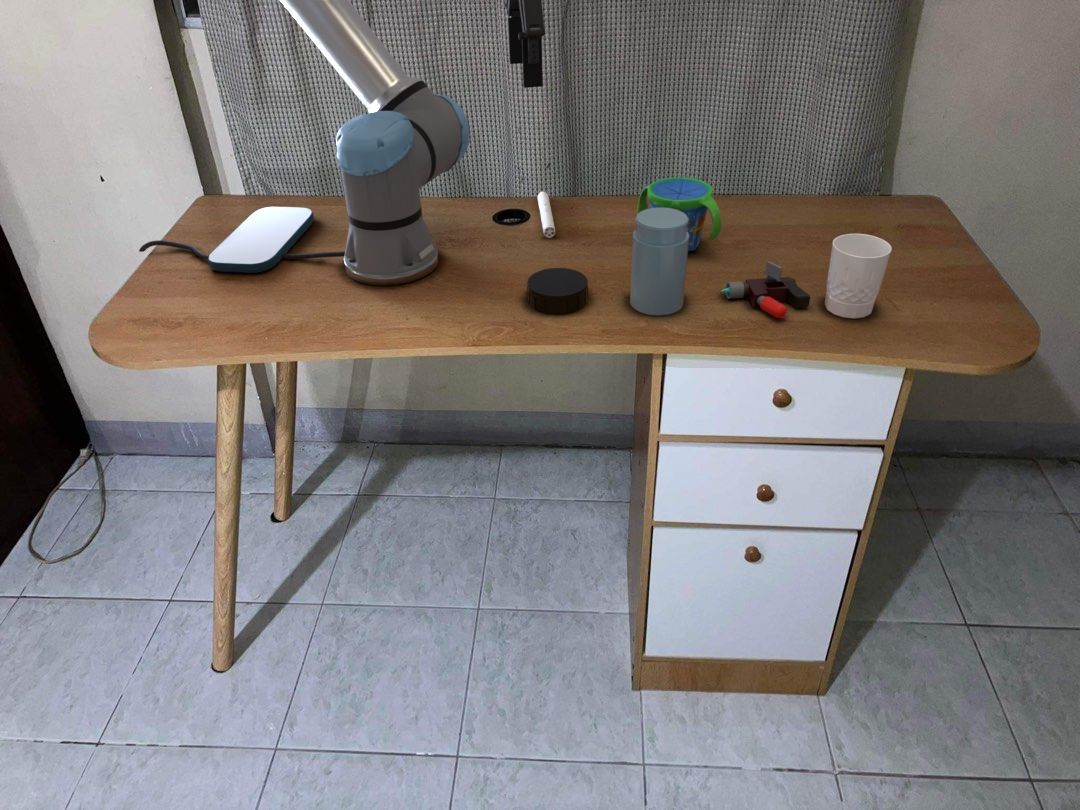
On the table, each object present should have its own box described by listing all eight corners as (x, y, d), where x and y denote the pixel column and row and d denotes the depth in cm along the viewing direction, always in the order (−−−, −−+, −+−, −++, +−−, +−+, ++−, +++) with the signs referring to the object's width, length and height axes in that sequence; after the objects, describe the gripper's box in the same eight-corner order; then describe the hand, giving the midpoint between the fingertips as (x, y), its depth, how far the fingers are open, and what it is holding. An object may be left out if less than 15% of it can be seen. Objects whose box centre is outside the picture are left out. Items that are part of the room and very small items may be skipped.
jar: (627, 313, 123) (631, 227, 115) (632, 288, 129) (636, 205, 121) (682, 317, 121) (689, 230, 113) (684, 291, 128) (691, 207, 120)
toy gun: (717, 292, 127) (720, 264, 124) (793, 288, 128) (798, 259, 125) (734, 324, 119) (738, 295, 116) (815, 319, 120) (821, 289, 117)
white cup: (814, 295, 126) (826, 233, 120) (867, 294, 125) (882, 233, 120) (827, 321, 119) (840, 257, 114) (883, 321, 119) (899, 257, 113)
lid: (567, 280, 132) (567, 262, 130) (599, 304, 125) (599, 285, 123) (517, 295, 128) (516, 277, 126) (547, 320, 122) (546, 301, 120)
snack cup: (621, 240, 143) (623, 183, 137) (664, 223, 148) (667, 167, 142) (688, 271, 133) (694, 211, 127) (732, 251, 138) (739, 193, 132)
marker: (536, 198, 159) (536, 186, 158) (547, 198, 159) (547, 186, 158) (543, 238, 145) (543, 225, 143) (555, 237, 145) (555, 225, 143)
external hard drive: (269, 276, 135) (266, 265, 134) (203, 273, 137) (199, 262, 136) (320, 217, 154) (318, 207, 153) (261, 215, 156) (259, 205, 155)
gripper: (481, -99, 121) (490, 55, 133) (505, -80, 101) (512, 99, 113) (532, -101, 122) (536, 52, 134) (565, -83, 102) (566, 95, 114)
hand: (525, 74), depth 124 cm, fingers open, 13 cm apart
